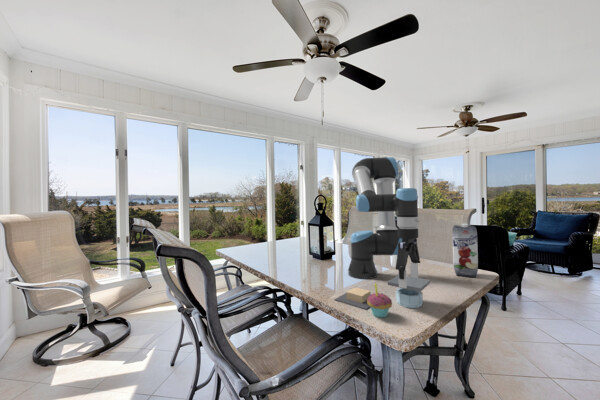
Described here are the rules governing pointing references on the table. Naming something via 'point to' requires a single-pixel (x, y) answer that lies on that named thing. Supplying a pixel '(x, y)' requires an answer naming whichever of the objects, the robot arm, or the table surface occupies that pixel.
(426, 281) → the sheet
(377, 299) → the cupcake
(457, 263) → the juice carton
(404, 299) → the bowl
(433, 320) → the table surface
